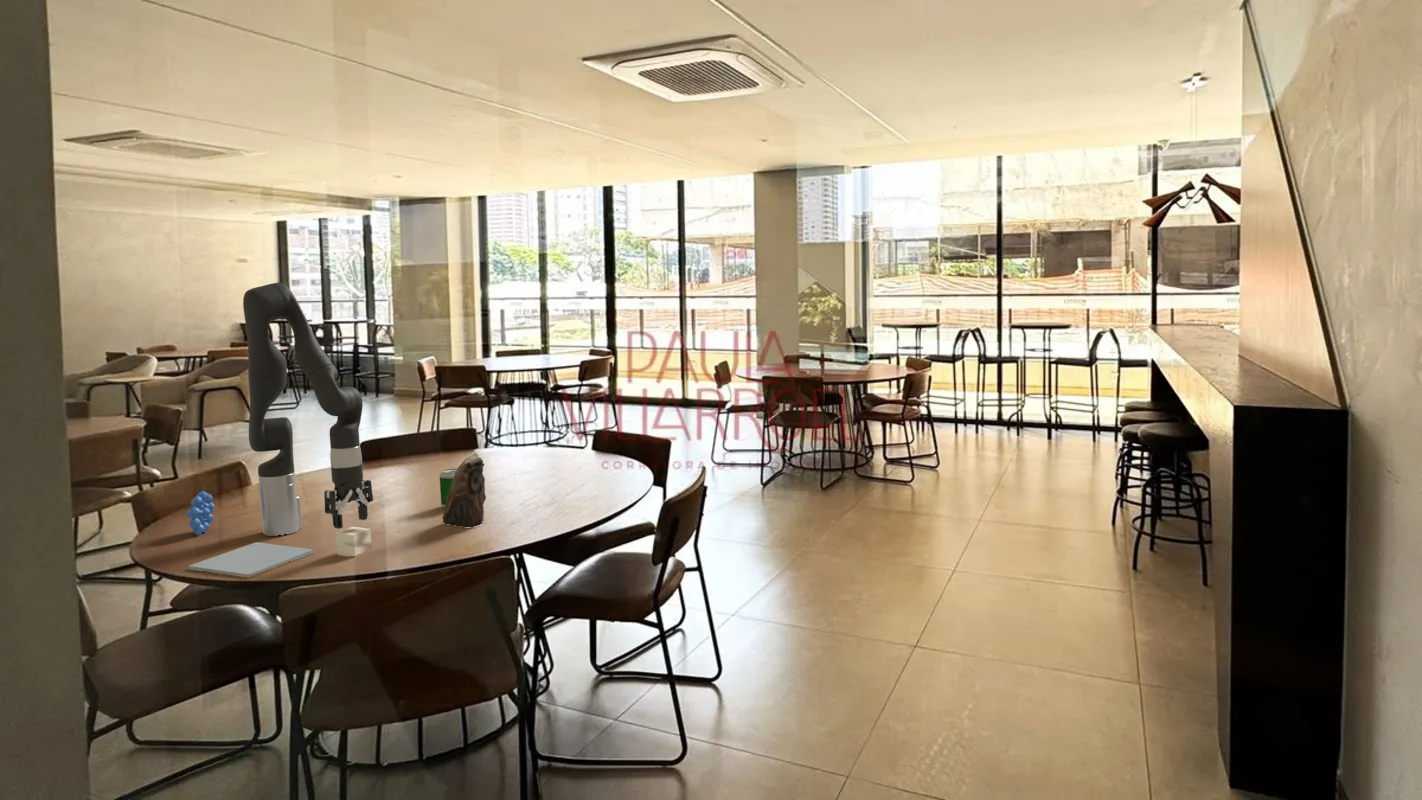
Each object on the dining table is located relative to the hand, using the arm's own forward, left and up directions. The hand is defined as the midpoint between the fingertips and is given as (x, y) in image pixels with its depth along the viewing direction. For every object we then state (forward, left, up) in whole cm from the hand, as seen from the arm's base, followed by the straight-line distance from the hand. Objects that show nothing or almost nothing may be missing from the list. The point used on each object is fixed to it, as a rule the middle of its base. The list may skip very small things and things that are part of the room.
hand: (351, 523), depth 218 cm
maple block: (-1, 0, -8) cm, 8 cm away
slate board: (+13, -20, -8) cm, 25 cm away
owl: (-34, +11, -8) cm, 36 cm away
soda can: (-47, -3, -8) cm, 47 cm away
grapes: (-1, -56, -8) cm, 57 cm away
